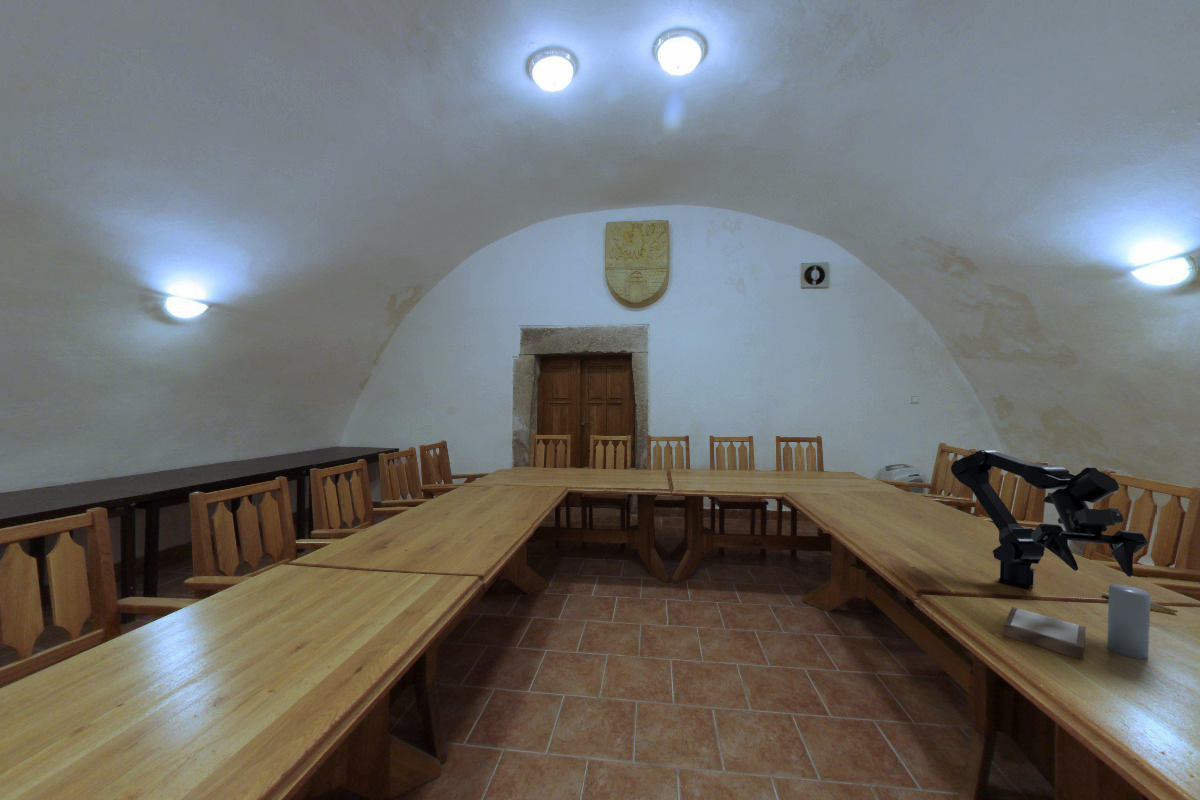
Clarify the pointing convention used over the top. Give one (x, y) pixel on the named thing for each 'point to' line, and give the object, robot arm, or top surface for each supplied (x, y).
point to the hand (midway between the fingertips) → (1103, 572)
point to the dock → (1046, 632)
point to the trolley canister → (1128, 621)
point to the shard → (1152, 605)
